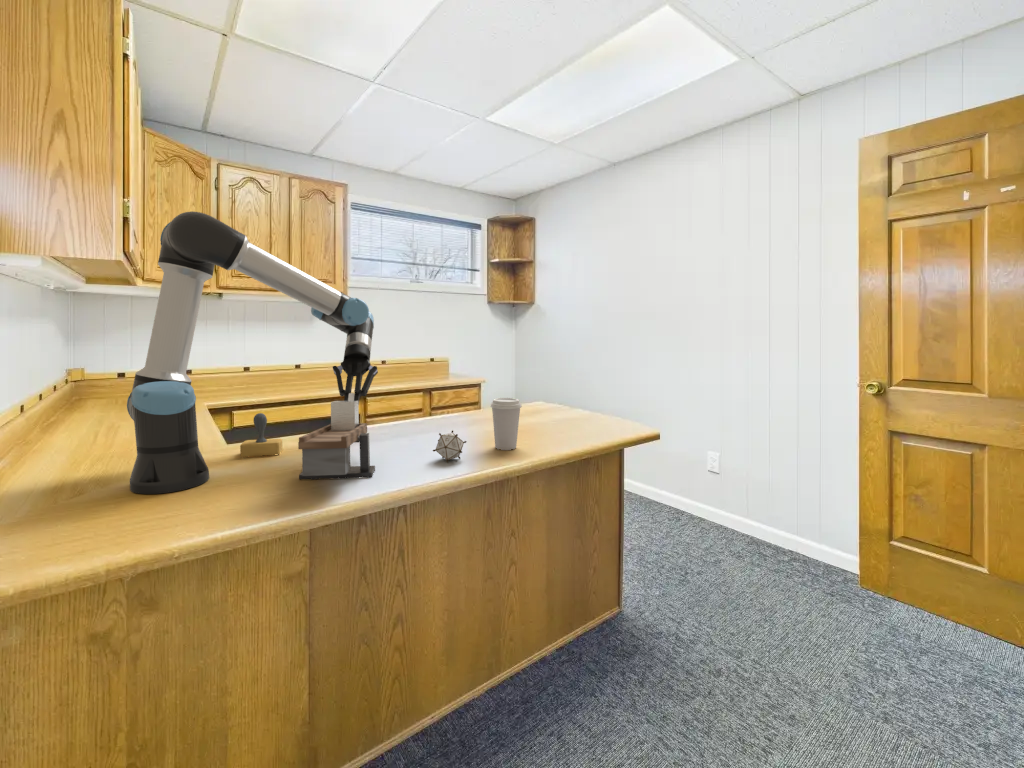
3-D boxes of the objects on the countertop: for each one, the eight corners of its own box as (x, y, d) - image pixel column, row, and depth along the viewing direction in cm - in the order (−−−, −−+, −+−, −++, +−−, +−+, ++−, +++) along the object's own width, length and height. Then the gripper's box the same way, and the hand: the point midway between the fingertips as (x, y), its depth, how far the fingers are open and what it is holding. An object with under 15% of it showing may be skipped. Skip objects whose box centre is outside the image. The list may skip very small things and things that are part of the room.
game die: (449, 470, 137) (454, 438, 142) (469, 465, 132) (474, 432, 137) (424, 460, 132) (431, 427, 137) (444, 454, 127) (450, 420, 132)
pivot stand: (306, 472, 123) (304, 433, 121) (375, 470, 125) (374, 431, 124) (299, 479, 117) (297, 438, 115) (371, 477, 119) (370, 436, 118)
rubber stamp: (240, 457, 135) (238, 415, 134) (245, 452, 141) (243, 412, 139) (279, 455, 138) (277, 414, 137) (282, 450, 144) (280, 410, 142)
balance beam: (329, 454, 134) (329, 424, 134) (368, 453, 135) (367, 423, 135) (297, 477, 104) (297, 437, 104) (347, 475, 106) (347, 436, 106)
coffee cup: (526, 446, 151) (527, 399, 149) (510, 453, 143) (510, 403, 141) (501, 442, 156) (501, 396, 154) (484, 448, 148) (484, 400, 146)
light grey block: (336, 428, 132) (335, 400, 132) (358, 427, 133) (358, 400, 133) (331, 430, 126) (330, 402, 126) (354, 430, 127) (354, 401, 127)
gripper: (380, 358, 152) (375, 421, 138) (337, 358, 150) (327, 422, 136) (378, 342, 146) (372, 406, 132) (333, 342, 144) (322, 407, 130)
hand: (349, 414), depth 134 cm, fingers closed
